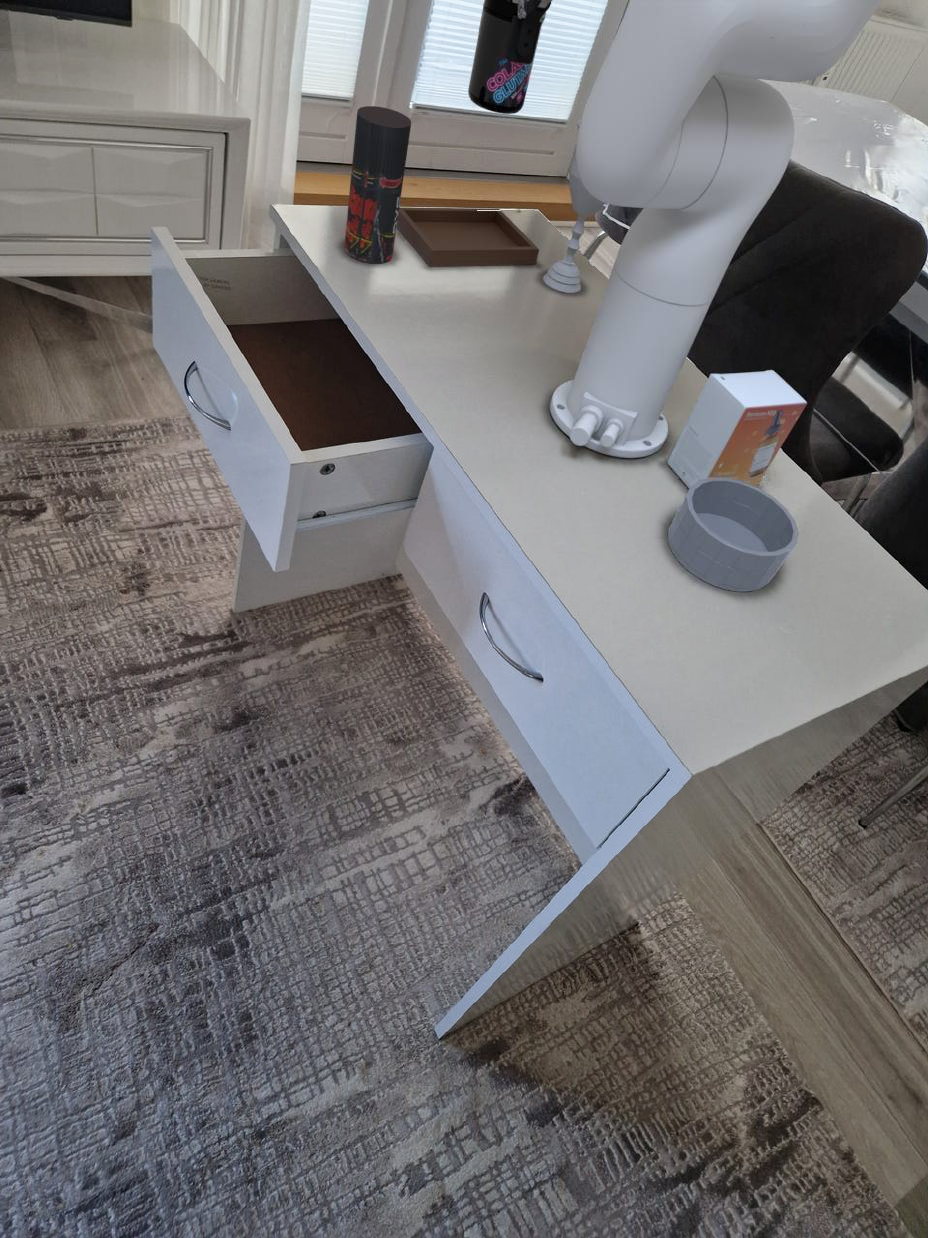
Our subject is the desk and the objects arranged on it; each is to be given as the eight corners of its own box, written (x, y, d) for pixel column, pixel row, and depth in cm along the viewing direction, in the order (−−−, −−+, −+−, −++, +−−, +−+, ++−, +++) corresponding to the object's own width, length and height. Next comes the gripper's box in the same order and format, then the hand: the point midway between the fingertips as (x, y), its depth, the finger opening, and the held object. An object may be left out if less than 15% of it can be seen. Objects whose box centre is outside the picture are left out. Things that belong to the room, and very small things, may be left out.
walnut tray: (429, 266, 100) (432, 250, 99) (393, 223, 107) (395, 206, 105) (535, 264, 107) (539, 249, 106) (495, 223, 113) (499, 208, 112)
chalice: (529, 283, 103) (571, 128, 90) (541, 263, 108) (583, 113, 95) (584, 302, 103) (634, 149, 90) (593, 281, 107) (642, 132, 94)
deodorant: (343, 237, 101) (356, 102, 90) (391, 244, 102) (409, 112, 91) (344, 259, 97) (357, 121, 86) (393, 266, 98) (413, 131, 88)
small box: (695, 499, 79) (744, 407, 72) (665, 463, 82) (709, 371, 75) (757, 490, 82) (810, 402, 75) (725, 456, 86) (773, 367, 78)
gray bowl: (765, 608, 71) (791, 572, 67) (656, 561, 72) (676, 523, 68) (779, 542, 77) (803, 506, 74) (679, 499, 79) (699, 462, 75)
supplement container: (469, 108, 92) (490, -4, 84) (463, 88, 96) (482, -20, 89) (526, 120, 93) (552, 11, 86) (518, 100, 98) (541, -5, 90)
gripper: (479, -193, 81) (446, 19, 94) (554, -158, 72) (505, 74, 85) (544, -176, 84) (503, 28, 97) (624, -140, 74) (567, 81, 87)
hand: (504, 47), depth 91 cm, fingers closed on supplement container, 6 cm apart
